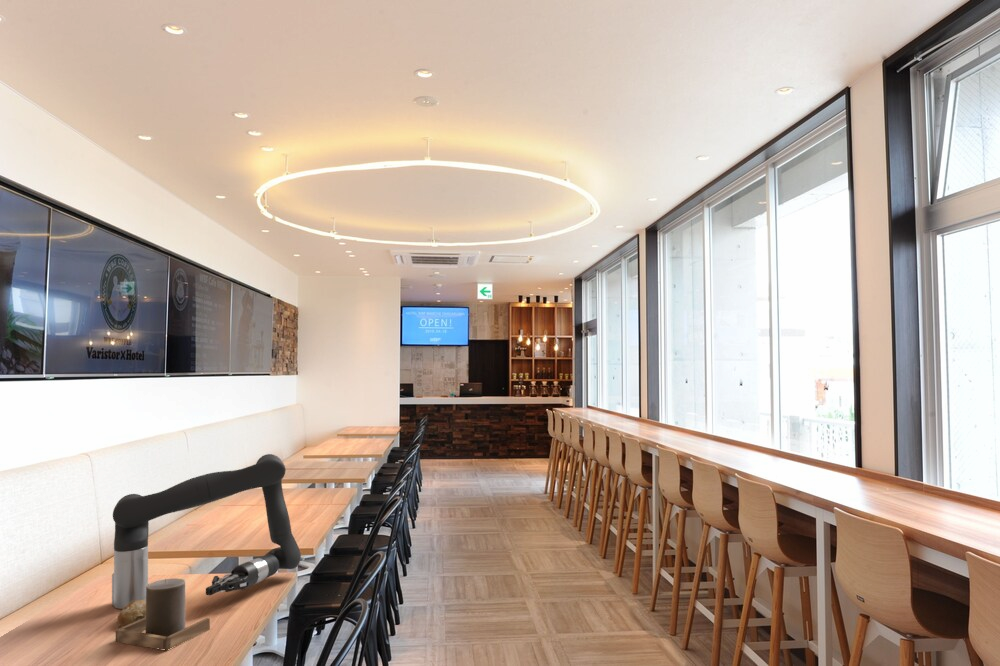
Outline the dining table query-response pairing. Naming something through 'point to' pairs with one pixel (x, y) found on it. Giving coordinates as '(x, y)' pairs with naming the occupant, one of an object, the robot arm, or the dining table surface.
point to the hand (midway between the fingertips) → (207, 591)
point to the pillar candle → (165, 607)
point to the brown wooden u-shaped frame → (136, 637)
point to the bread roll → (132, 613)
